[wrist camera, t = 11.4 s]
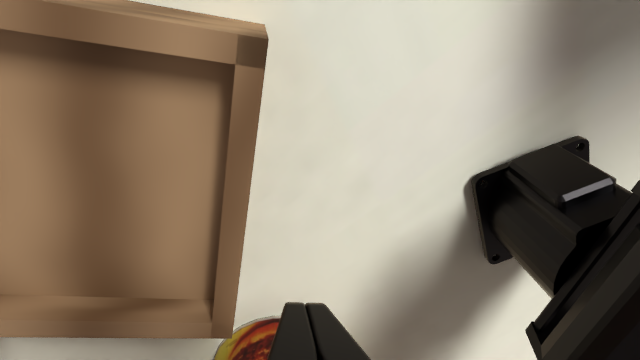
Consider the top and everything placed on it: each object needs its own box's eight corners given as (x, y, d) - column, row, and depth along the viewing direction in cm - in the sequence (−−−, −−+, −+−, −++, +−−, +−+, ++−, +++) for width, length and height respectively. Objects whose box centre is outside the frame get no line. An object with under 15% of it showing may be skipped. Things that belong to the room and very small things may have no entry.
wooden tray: (268, -9, 16) (273, -3, 13) (232, 299, 24) (229, 357, 20) (-110, -83, 14) (-234, -101, 10) (-21, 292, 21) (-76, 358, 17)
